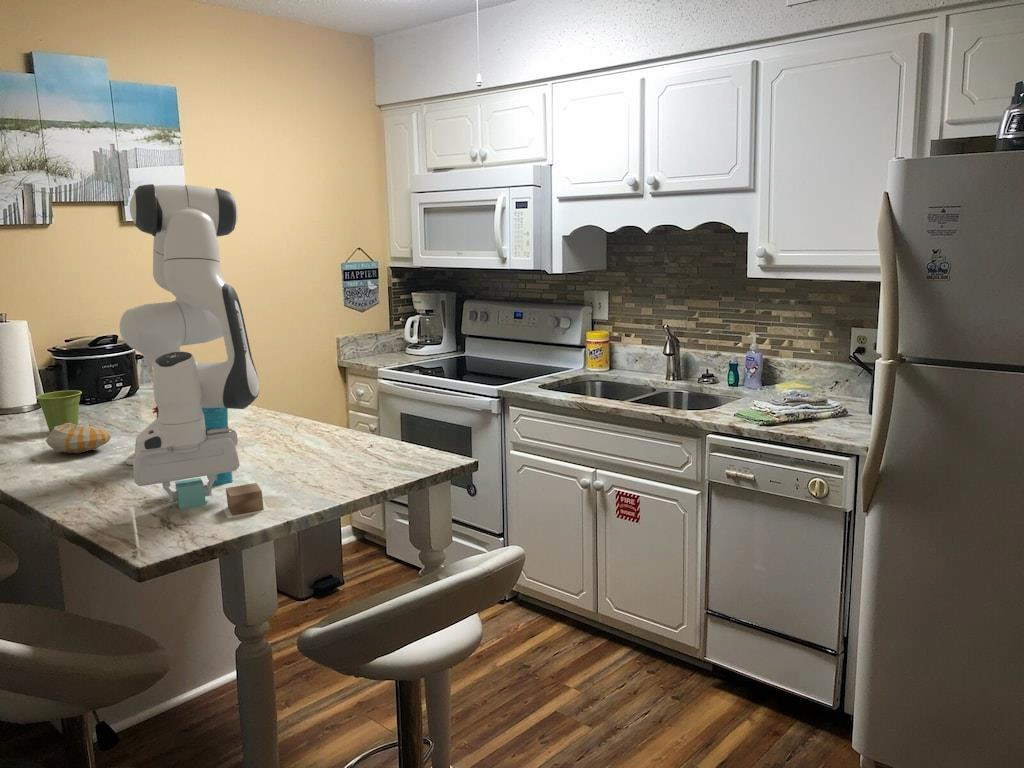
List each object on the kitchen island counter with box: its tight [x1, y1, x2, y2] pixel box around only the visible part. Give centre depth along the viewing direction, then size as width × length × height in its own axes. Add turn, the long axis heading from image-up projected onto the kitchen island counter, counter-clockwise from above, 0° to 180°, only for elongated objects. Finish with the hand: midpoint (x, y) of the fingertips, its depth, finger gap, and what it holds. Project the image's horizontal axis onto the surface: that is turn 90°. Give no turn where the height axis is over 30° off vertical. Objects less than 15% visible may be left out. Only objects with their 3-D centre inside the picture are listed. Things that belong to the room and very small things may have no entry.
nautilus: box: [45, 423, 112, 454], centre depth 221 cm, size 8×22×15 cm
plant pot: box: [35, 389, 83, 433], centre depth 242 cm, size 12×12×11 cm
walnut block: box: [225, 482, 264, 516], centre depth 167 cm, size 6×6×4 cm
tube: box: [201, 408, 234, 487], centre depth 185 cm, size 7×5×19 cm, turn 88°
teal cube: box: [174, 477, 207, 510], centre depth 172 cm, size 5×5×5 cm
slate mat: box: [221, 500, 271, 519], centre depth 167 cm, size 14×12×1 cm
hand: (191, 498), depth 172 cm, fingers closed on teal cube, 5 cm apart
